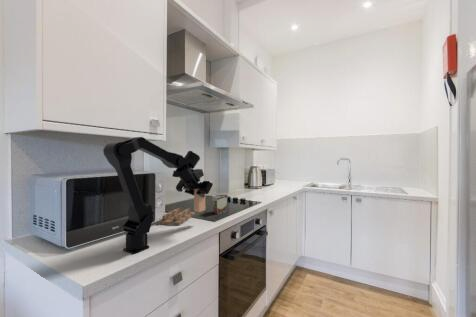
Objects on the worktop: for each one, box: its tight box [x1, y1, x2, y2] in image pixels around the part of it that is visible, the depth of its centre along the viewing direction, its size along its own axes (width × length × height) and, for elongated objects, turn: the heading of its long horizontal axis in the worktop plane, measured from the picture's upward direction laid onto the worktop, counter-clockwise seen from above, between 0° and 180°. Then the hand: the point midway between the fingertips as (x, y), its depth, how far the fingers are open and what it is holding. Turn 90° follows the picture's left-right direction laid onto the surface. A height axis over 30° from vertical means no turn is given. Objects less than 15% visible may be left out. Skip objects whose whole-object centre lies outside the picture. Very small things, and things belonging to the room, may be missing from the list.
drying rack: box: [156, 207, 196, 226], centre depth 119 cm, size 20×12×4 cm, turn 170°
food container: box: [211, 194, 229, 215], centre depth 135 cm, size 12×6×10 cm, turn 149°
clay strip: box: [193, 189, 206, 213], centre depth 109 cm, size 5×3×13 cm, turn 150°
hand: (201, 196), depth 111 cm, fingers closed on clay strip, 3 cm apart
